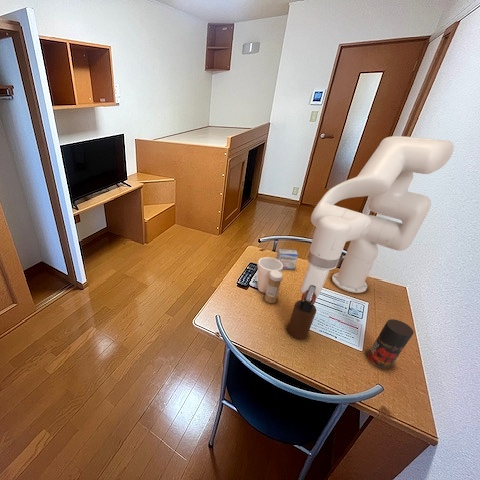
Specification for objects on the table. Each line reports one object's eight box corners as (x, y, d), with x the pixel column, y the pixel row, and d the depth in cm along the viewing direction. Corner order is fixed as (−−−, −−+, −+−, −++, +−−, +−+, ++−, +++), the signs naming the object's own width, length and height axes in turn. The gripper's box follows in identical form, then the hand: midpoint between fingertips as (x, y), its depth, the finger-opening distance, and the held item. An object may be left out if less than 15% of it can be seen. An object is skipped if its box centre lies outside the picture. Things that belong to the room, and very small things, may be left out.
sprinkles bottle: (278, 300, 105) (285, 274, 98) (271, 305, 103) (277, 279, 96) (268, 294, 108) (274, 268, 101) (261, 298, 106) (267, 272, 99)
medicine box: (276, 268, 122) (280, 253, 118) (274, 263, 126) (278, 248, 122) (294, 269, 121) (298, 254, 117) (291, 264, 125) (295, 249, 120)
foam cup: (252, 292, 109) (257, 267, 103) (254, 279, 117) (259, 255, 110) (276, 298, 106) (283, 272, 99) (277, 284, 113) (283, 259, 107)
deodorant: (362, 352, 84) (381, 320, 76) (380, 350, 84) (400, 318, 76) (377, 369, 78) (399, 337, 71) (396, 367, 79) (419, 334, 71)
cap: (313, 306, 81) (316, 299, 80) (300, 302, 83) (303, 295, 81) (314, 299, 84) (317, 291, 83) (301, 295, 86) (304, 288, 84)
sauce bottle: (296, 322, 95) (308, 286, 86) (311, 335, 90) (325, 298, 81) (283, 328, 93) (294, 292, 84) (298, 342, 88) (311, 305, 79)
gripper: (313, 241, 82) (300, 284, 91) (301, 269, 70) (287, 315, 79) (341, 248, 78) (324, 292, 87) (333, 279, 66) (314, 326, 75)
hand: (307, 303), depth 83 cm, fingers open, 6 cm apart
